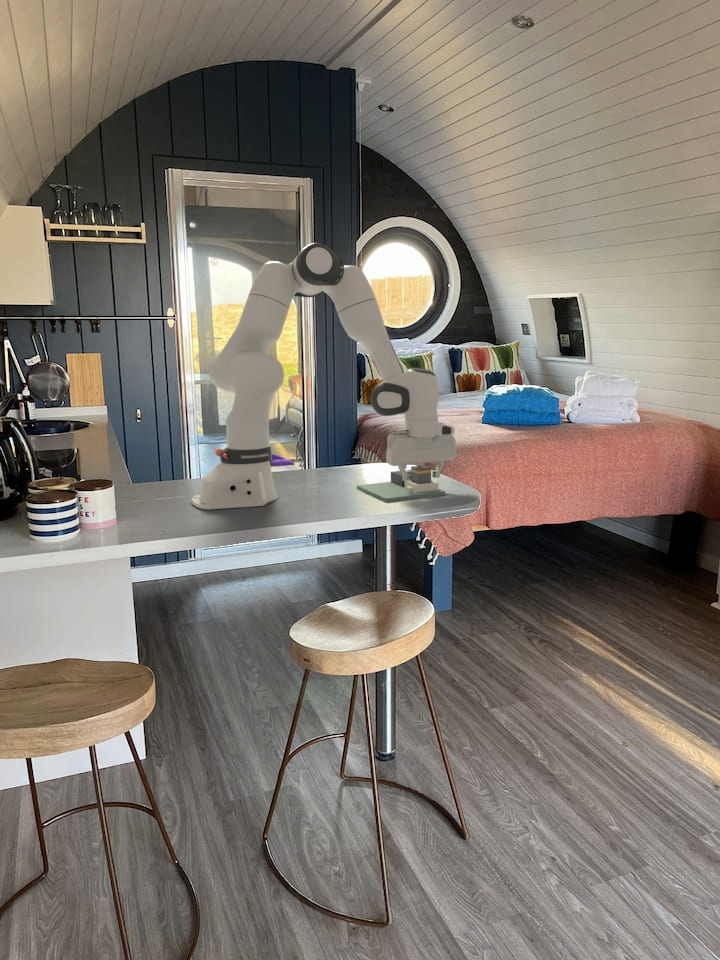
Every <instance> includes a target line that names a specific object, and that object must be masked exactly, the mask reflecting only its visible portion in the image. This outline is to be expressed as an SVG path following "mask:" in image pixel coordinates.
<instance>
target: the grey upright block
mask: <svg viewBox="0 0 720 960" xmlns="http://www.w3.org/2000/svg"><path fill="white" fill-rule="evenodd" d="M410 470H411V482H413V483H416V484H424V483H431V480H432V467H430V466H427V465H424V464H423V463H420V464H416V465H413V466H411V467H410Z"/></svg>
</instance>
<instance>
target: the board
mask: <svg viewBox="0 0 720 960" xmlns="http://www.w3.org/2000/svg"><path fill="white" fill-rule="evenodd" d="M356 489H357V490H358V491H361V492H362V493H365V494H367V495H369V496H371V497H373V498H376V499H378V500H379V501H382V502H384V503H390V502H399V501H407V500H408V501H409V500H415V499H422V498H423V499H424V498H433V497H440V495H441V496H445V495H446V491H445V490H442V489H441V488H438V490H432V491H424V492H415V491H409V490H406V488H405V487H402V486H399V485H397V484H394V483H392V482H391V481H386V482H377V483H376V482H375V483H366V484H360V485H359V484H358V485H356Z"/></svg>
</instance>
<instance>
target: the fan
mask: <svg viewBox="0 0 720 960" xmlns="http://www.w3.org/2000/svg"><path fill="white" fill-rule="evenodd" d="M405 471H406V473H407V474H410V480H411V469H405ZM390 482H392V483H394V484H397V485H399V486H402V487H405V481H403V480H402V473H401V472H400V470H396V471H390Z"/></svg>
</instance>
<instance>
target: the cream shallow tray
mask: <svg viewBox="0 0 720 960" xmlns="http://www.w3.org/2000/svg"><path fill="white" fill-rule="evenodd" d="M405 488H406V490H409V491H415V492H424V491H432V490H438V489H439V481H438V482H437V481H435V480H433V479H431V483H424V484H416V483H413V482H411V480H410V481H405Z"/></svg>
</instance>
